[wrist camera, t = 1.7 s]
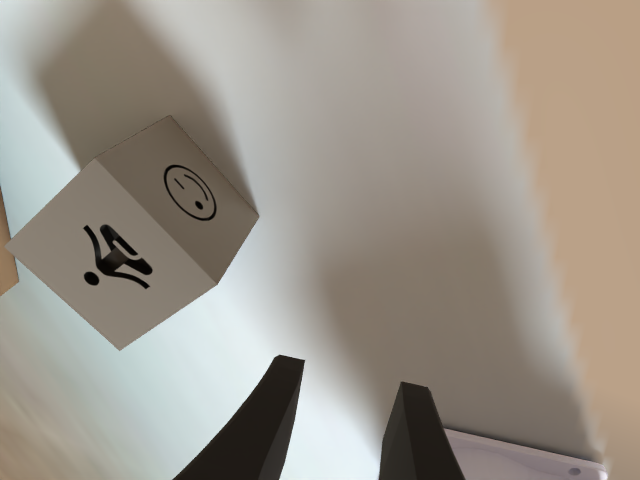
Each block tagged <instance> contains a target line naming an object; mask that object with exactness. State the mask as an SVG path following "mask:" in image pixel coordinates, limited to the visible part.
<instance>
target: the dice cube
mask: <svg viewBox="0 0 640 480" xmlns="http://www.w3.org/2000/svg"><path fill="white" fill-rule="evenodd" d="M258 218H259V215H258V214H257V213H256V212H255V211H254V210H253V209H252V207H251V206H250V205H249V204H248V203H247V202H246V201H245V200H244V198H243V197H242V196H241V195H240V194H239V193H238V192H237V191H236V189H235V188H234V187H233V186H232V185H231V184H230V183H229V181H228V180H227V179H226V178H225V177H224V176H223V175H222V174H221V172H220V171H219V170H218V169H217V168H216V167H215V166H214V165H213V163H212V162H211V161H210V160H209V159H208V158H207V157H206V155H205V154H204V153H203V152H202V151H201V150H200V149H199V148H198V146H197V145H196V144H195V143H194V142H193V141H192V140H191V139H190V137H189V136H188V135H187V134H186V133H185V132H184V131H183V129H182V128H181V127H180V126H179V125H178V124H177V123H176V122H175V120H174V119H173V118H172V117H171V116H170V115H169V116H167V117H166V118H164V119H162V120H160V121H158V122H157V123H155V124H153V125H151V126H150V127H148V128H146V129H144V130H143V131H141V132H139V133H137V134H136V135H134V136H132V137H130V138H128V139H127V140H125V141H123V142H121V143H120V144H118V145H116V146H114V147H113V148H111V149H109V150H107V151H106V152H104V153H102V154H100V155H98V156H97V157H95V158H94V159H93V160H92V161H91V162H90V163H89V164H88V165H87V166H86V167H85V168H83V169H82V170H81V171H80V172H79V173H78V174H77V175H76V176H75V177H74V178H73V179H72V180H71V181H70V182H69V183H68V184H67V185H66V186H65V187H64V188H63V189H62V190H61V191H60V192H59V193H58V194H57V195H56V196H55V197H54V198H53V199H52V200H51V201H50V202H49V203H48V204H47V205H46V206H45V207H44V208H43V209H42V210H41V211H40V212H39V213H38V214H37V215H35V216H34V217H33V218H32V219H31V220H30V221H29V222H28V223H27V224H26V225H25V226H24V227H23V228H22V229H21V230H20V231H19V232H18V233H17V234H16V235H15V236H14V237H13V238H12V239H11V240H10V241H9V242H8V243H7V244H6V245H5V246H4V247H5V248H6V249H7V250H8V251H9V252H10V253H11V254H12V255H14V256H15V257H16V258H17V259H18V260H19V261H20V262H21V263H22V264H24V265H25V266H26V267H27V268H28V269H29V270H30V271H31V272H32V273H34V274H35V275H36V276H37V277H38V278H39V279H40V280H41V281H42V282H44V283H45V284H46V285H47V286H48V287H49V288H50V289H51V290H52V291H54V292H55V293H56V294H57V295H58V296H59V297H60V298H61V299H62V300H64V301H65V302H66V303H67V304H68V305H69V306H70V307H71V308H73V309H74V310H75V311H76V312H77V313H78V314H79V315H80V316H81V317H83V318H84V319H85V320H86V321H87V322H88V323H89V324H90V325H91V326H93V327H94V328H95V329H96V330H97V331H98V332H99V333H100V334H101V335H103V336H104V337H105V338H106V339H107V340H108V341H109V342H110V343H111V344H113V345H114V346H115V347H116V348H117V349H118V350H119V351H120V350H122V349H123V348H124V347H126V346H127V345H129V344H130V343H132V342H133V341H135V340H136V339H138V338H139V337H141V336H142V335H144V334H145V333H147V332H148V331H150V330H151V329H153V328H154V327H156V326H157V325H158V324H160V323H161V322H163V321H164V320H166V319H167V318H169V317H170V316H172V315H173V314H175V313H176V312H178V311H179V310H181V309H182V308H184V307H185V306H187V305H188V304H190V303H191V302H193V301H194V300H195V299H197V298H198V297H200V296H201V295H203V294H204V293H206V292H207V291H209V290H210V289H212V288H213V287H215V286H216V285H218V283H219V281H220V280H221V278H222V276H223V275H224V273H225V272H226V270H227V268H228V267H229V265H230V263H231V262H232V260H233V259H234V257H235V255H236V254H237V252H238V251H239V249H240V247H241V246H242V244H243V242H244V241H245V239H246V238H247V236H248V234H249V233H250V231H251V229H252V228H253V226H254V225H255V223H256V221H257V220H258Z"/></svg>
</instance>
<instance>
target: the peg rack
mask: <svg viewBox="0 0 640 480" xmlns="http://www.w3.org/2000/svg"><path fill="white" fill-rule="evenodd" d="M10 240H11V239H10V234H9V229H8V224H7V219H6V214H5V209H4V204H3V198H2V193H1V188H0V296H1V295H2V294H4V293H5V292H6V291H8V290H9V289H10V288H11V287H13V286H14V285H15V284H17V283H18V282H19V280H18V275H17V269H16V264H15V259H14V255H12V254H11V253H10V252H9V251H8V250H7V249H6V248H5V247H4V246H5V245H6V244H7V243H8V242H9V241H10Z"/></svg>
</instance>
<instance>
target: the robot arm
mask: <svg viewBox="0 0 640 480" xmlns="http://www.w3.org/2000/svg"><path fill="white" fill-rule="evenodd" d="M304 363H305V360H302V359H297V358H292V357H288V356H283V355H278V356H276V357H274V359H273V361H272V363H271V365H270V366H269V368H268V370H267V371H266V373H265V374H264V376H263V377H262V379H261V380H260V382H259V383H258V385H257V386H256V387H255V389H254V390H253V391H252V393H251V394H250V395H249V397H248V398H247V399H246V400H245V402H244V403H243V404H242V405H241V407H240V408H239V409H238V410H237V412H236V413H235V414H234V415H233V417H232V418H231V419H230V420H229V421H228V423H227V424H226V425H225V426H224V427H223V428H222V429H221V430H220V431H219V433H218V434H217V435H216V436H215V437H214V438H213V439H212V440H211V441H210V442H209V444H208V445H207V446H206V447H205V448H204V449H203V450H202V451H201V452H200V453H199V454H198V455H197V456H196V457H195V458H194V459H193V460H192V461H191V462H190V463H189V464H188V465H187V466H186V467H185V468H184V469H183V470H182V471H181V472H180V473H179V474H178V475H177V476H176V477H175V478H174V479H173V480H279V478H280V475H281V472H282V469H283V466H284V463H285V459H286V455H287V450H288V446H289V442H290V438H291V433H292V429H293V425H294V421H295V415H296V409H297V404H298V398H299V392H300V386H301V381H302V375H303V369H304ZM607 478H608V473H607V471H606V468H605V467H604V466H603V465H602V464H599V463H595V462H591V461H587V460H582V459H578V458H573V457H569V456H564V455H560V454H556V453H551V452H547V451H542V450H538V449H533V448H529V447H524V446H520V445H516V444H511V443H507V442H502V441H498V440H493V439H489V438H485V437H480V436H476V435H471V434H467V433H462V432H458V431H453V430H449V429H445V428H443V425H442V423H441V420H440V417H439V415H438V412H437V409H436V406H435V403H434V400H433V397H432V394H431V392H430V390H429V389H428V387H424V386H420V385H415V384H410V383H406V382H401V384H400V387H399V390H398V393H397V396H396V400H395V403H394V406H393V409H392V412H391V415H390V419H389V422H388V425H387V428H386V431H385V434H384V438H383V442H382V452H381V462H380V474H379V480H607Z"/></svg>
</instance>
